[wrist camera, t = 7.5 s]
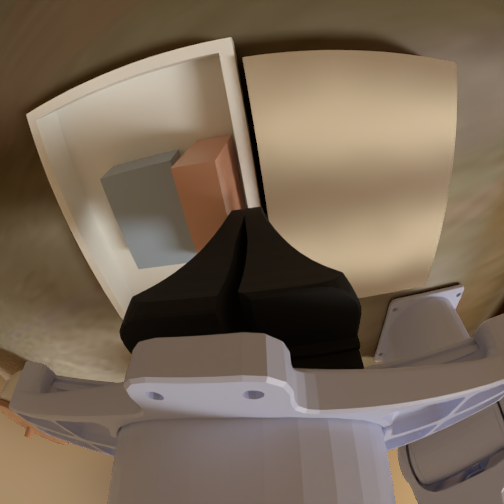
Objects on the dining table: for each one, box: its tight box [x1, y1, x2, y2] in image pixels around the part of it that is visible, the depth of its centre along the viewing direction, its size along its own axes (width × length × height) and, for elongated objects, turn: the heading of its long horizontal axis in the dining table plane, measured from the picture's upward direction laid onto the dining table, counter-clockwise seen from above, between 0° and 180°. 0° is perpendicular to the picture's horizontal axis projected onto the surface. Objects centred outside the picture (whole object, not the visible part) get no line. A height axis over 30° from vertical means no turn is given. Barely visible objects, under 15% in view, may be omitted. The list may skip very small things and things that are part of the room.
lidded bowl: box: [0, 370, 69, 445], centre depth 29 cm, size 13×13×11 cm
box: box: [26, 37, 262, 320], centre depth 15 cm, size 16×11×2 cm
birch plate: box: [242, 50, 457, 298], centre depth 14 cm, size 14×10×3 cm
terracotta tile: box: [171, 134, 246, 253], centre depth 14 cm, size 6×4×2 cm
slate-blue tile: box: [100, 149, 197, 269], centre depth 15 cm, size 6×4×2 cm, turn 9°
